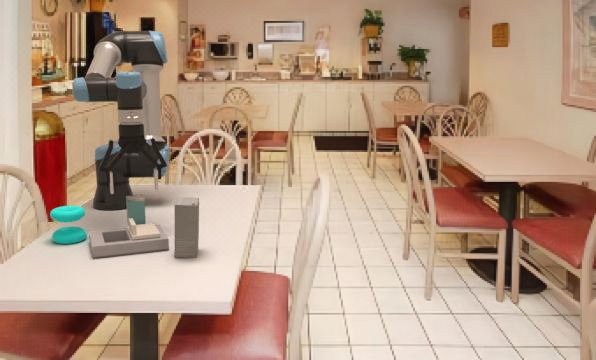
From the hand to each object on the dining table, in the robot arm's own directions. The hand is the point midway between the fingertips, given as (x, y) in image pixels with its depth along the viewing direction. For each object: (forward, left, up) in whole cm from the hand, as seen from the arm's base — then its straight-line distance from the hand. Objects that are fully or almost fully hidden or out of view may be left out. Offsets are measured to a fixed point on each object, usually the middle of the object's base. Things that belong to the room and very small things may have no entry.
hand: (134, 191), depth 193 cm
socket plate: (+12, -4, -14) cm, 19 cm away
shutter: (+12, +1, -10) cm, 16 cm away
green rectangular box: (0, 0, -14) cm, 14 cm away
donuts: (-1, -20, -14) cm, 24 cm away
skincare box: (+25, +11, -14) cm, 31 cm away
